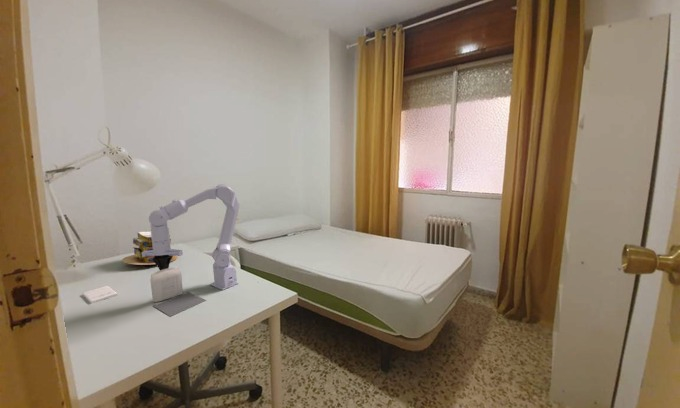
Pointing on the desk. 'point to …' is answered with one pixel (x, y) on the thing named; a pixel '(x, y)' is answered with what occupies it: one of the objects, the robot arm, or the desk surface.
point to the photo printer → (166, 284)
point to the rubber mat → (179, 303)
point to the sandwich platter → (144, 245)
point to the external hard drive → (99, 294)
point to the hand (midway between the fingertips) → (164, 273)
